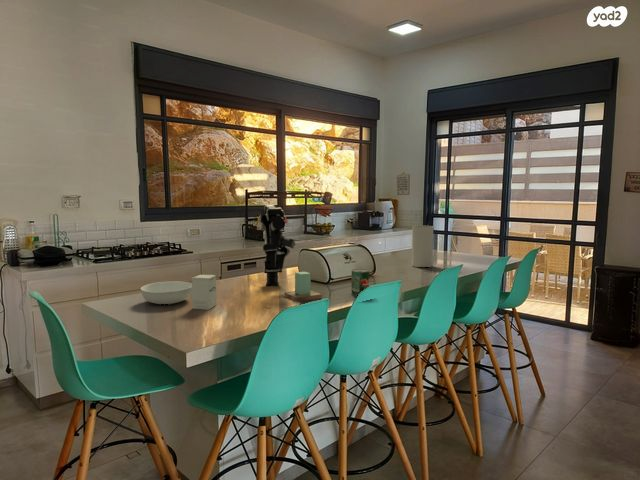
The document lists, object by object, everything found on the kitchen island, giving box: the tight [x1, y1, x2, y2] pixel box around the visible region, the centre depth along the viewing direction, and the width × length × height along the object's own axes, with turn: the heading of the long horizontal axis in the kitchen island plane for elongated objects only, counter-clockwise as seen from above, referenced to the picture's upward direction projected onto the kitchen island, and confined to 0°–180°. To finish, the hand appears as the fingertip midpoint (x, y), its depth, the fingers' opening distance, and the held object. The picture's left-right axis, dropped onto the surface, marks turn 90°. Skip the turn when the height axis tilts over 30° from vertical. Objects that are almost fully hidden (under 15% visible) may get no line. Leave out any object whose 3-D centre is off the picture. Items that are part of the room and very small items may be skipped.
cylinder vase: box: [411, 224, 434, 268], centre depth 276 cm, size 12×12×25 cm
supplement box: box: [191, 274, 217, 311], centre depth 179 cm, size 7×7×13 cm
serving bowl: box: [140, 280, 192, 305], centre depth 188 cm, size 21×21×7 cm
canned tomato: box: [351, 268, 370, 297], centre depth 201 cm, size 8×8×11 cm
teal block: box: [294, 271, 312, 295], centre depth 195 cm, size 5×5×9 cm
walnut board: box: [284, 289, 323, 303], centre depth 196 cm, size 12×12×2 cm
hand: (277, 267), depth 204 cm, fingers open, 9 cm apart
